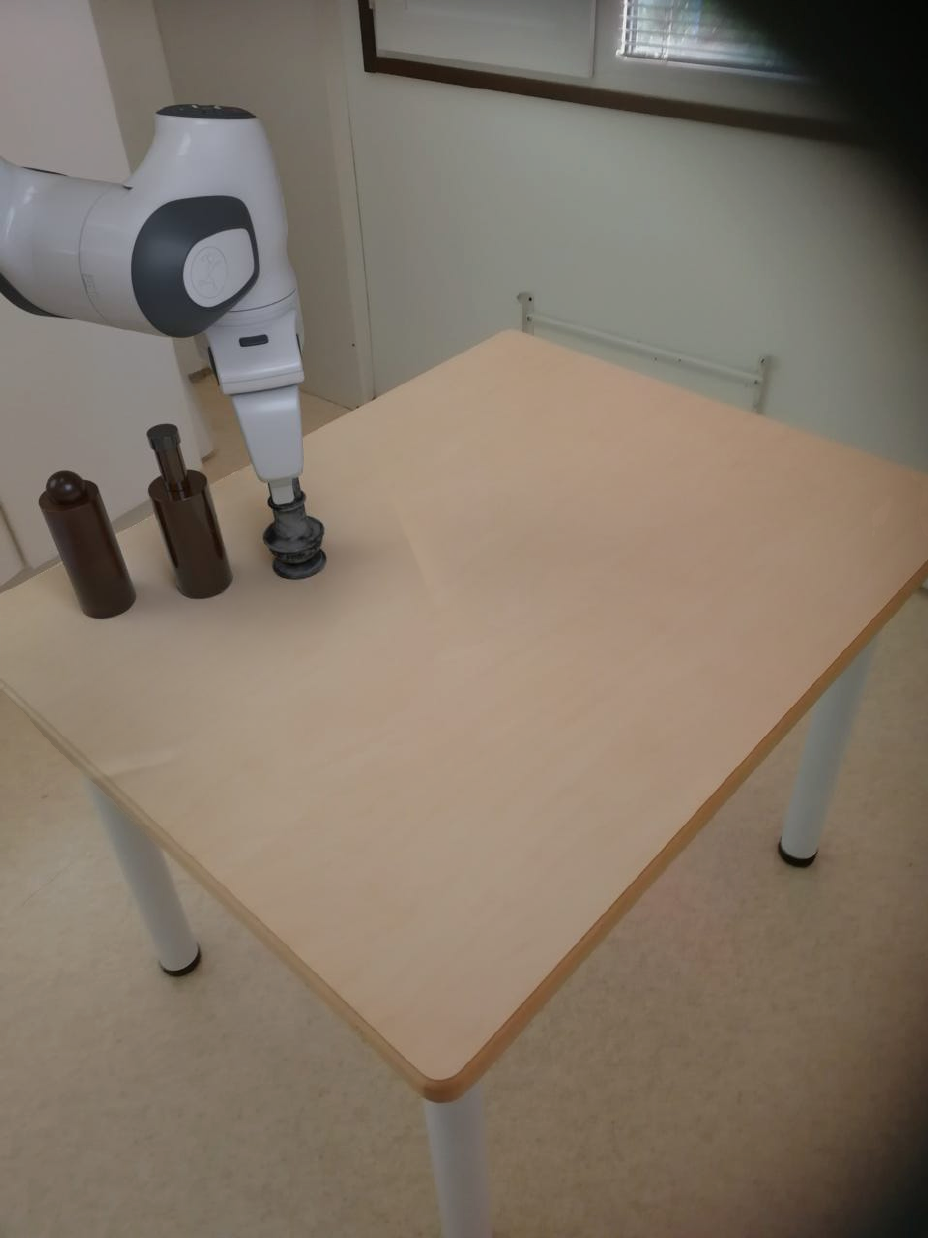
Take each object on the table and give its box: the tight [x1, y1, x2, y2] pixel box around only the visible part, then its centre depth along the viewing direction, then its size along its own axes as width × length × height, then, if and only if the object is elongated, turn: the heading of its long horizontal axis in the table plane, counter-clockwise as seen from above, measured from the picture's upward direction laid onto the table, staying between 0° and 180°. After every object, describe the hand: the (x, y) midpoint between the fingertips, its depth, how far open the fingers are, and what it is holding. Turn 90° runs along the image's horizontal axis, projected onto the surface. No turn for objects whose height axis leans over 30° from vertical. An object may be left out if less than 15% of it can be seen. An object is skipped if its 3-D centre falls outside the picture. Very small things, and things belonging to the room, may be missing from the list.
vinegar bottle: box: [145, 423, 234, 600], centre depth 86 cm, size 5×5×16 cm
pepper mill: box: [38, 469, 137, 620], centre depth 85 cm, size 5×5×14 cm
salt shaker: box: [262, 477, 328, 580], centre depth 89 cm, size 6×6×12 cm
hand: (276, 471), depth 86 cm, fingers open, 8 cm apart
